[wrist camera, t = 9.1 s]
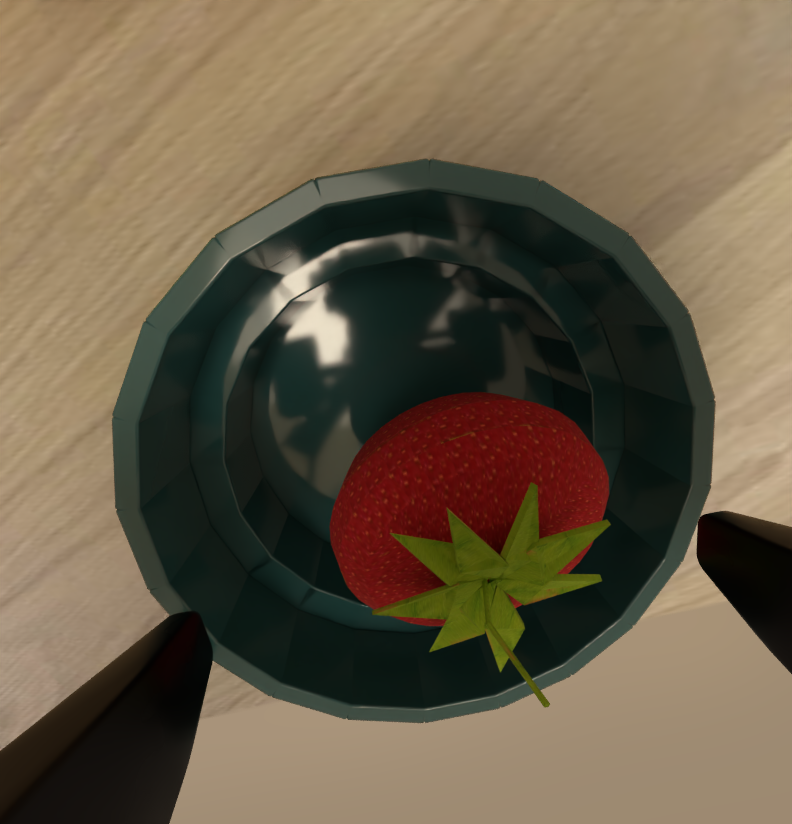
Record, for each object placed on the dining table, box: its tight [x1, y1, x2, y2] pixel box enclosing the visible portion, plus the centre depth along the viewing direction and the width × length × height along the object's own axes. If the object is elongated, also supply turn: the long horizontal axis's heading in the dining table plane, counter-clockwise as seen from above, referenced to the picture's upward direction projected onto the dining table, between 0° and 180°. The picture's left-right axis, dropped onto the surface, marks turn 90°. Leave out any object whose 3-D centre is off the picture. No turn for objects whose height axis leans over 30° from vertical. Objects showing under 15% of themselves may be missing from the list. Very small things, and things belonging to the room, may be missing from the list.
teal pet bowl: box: [112, 159, 716, 723], centre depth 13 cm, size 15×15×6 cm
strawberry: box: [330, 392, 611, 707], centre depth 11 cm, size 6×8×10 cm
